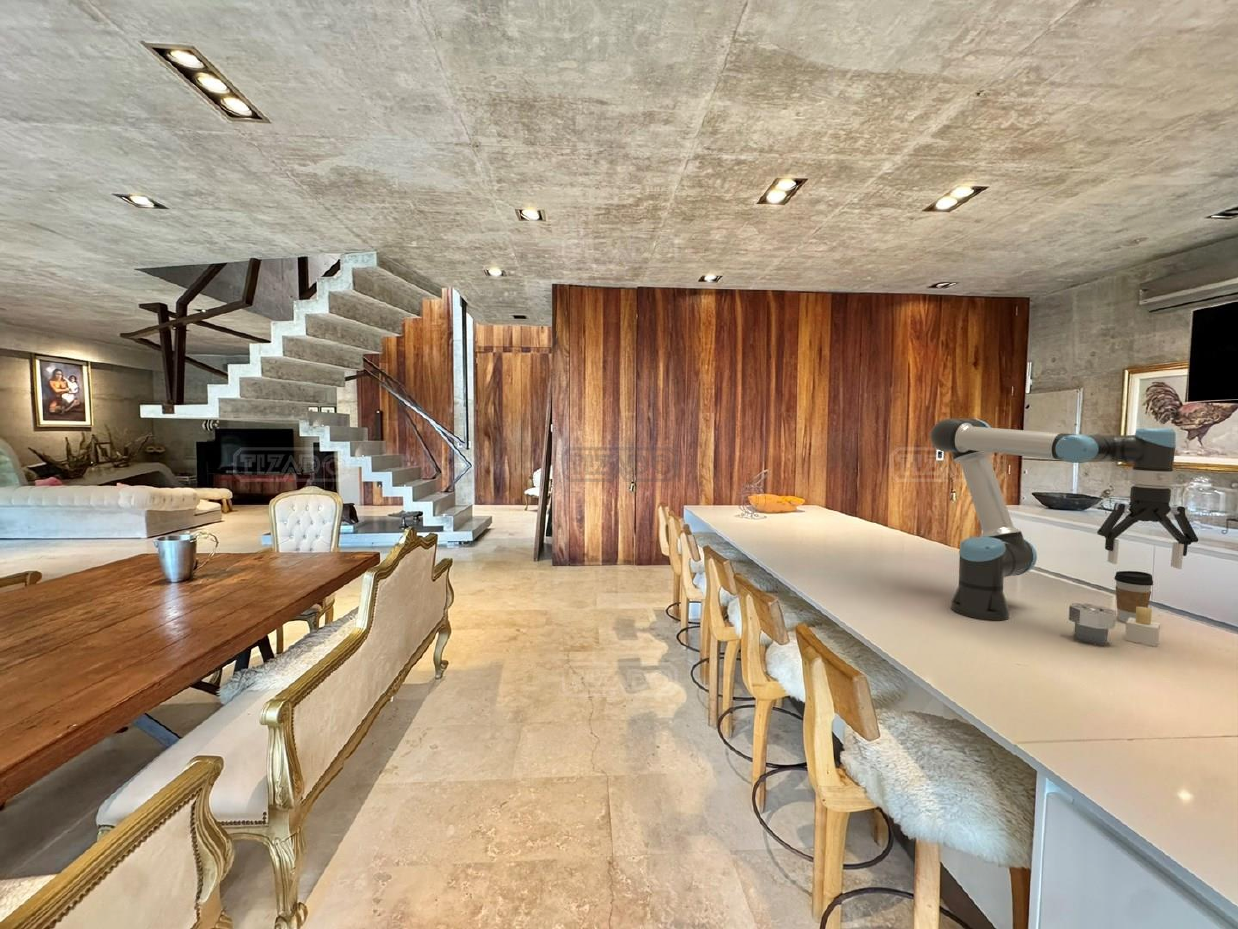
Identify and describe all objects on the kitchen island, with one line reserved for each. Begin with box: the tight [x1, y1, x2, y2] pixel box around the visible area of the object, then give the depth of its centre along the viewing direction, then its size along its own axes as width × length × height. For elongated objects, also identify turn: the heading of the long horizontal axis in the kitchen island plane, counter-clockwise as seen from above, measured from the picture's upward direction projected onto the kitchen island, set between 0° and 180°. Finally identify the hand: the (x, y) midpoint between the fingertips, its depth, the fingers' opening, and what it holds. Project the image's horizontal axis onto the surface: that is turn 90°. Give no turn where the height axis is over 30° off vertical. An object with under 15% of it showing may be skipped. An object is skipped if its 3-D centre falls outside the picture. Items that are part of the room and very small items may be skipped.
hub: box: [1124, 607, 1161, 648], centre depth 143 cm, size 6×6×9 cm
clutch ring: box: [1068, 602, 1117, 630], centre depth 143 cm, size 9×9×4 cm
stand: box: [1073, 606, 1109, 648], centre depth 143 cm, size 6×6×9 cm
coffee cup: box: [1114, 570, 1154, 624], centre depth 158 cm, size 8×8×15 cm
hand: (1143, 565), depth 140 cm, fingers open, 13 cm apart
